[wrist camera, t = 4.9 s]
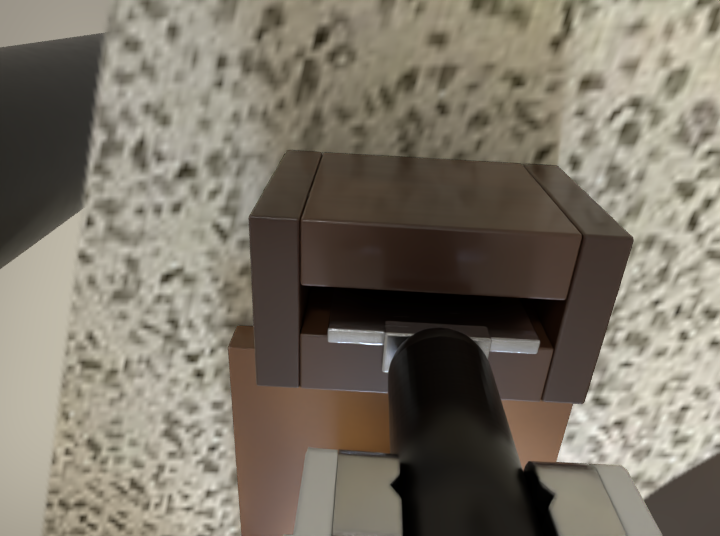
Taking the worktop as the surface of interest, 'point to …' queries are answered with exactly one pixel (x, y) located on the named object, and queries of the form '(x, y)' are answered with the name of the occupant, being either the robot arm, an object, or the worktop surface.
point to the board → (331, 435)
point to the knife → (446, 405)
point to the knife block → (430, 263)
